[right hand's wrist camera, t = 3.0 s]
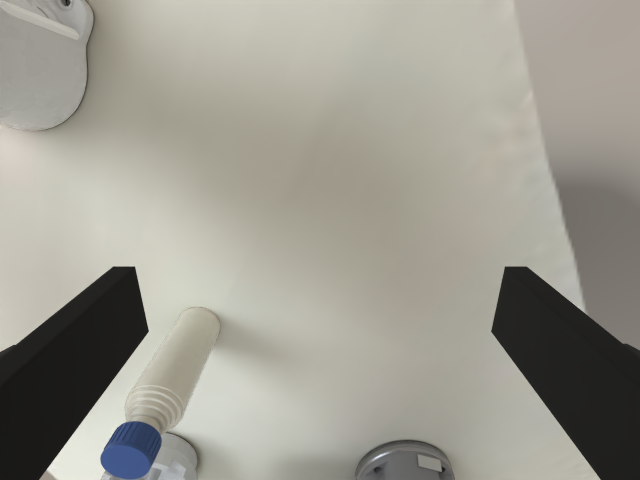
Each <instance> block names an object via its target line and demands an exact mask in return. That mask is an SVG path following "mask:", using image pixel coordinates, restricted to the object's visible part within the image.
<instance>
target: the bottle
mask: <svg viewBox="0 0 640 480" xmlns="http://www.w3.org/2000/svg"><path fill="white" fill-rule="evenodd" d="M219 332H220V322H219V320H218V318H217V317H216V315H215V314H214V313H212V312H211V311H209V310H207V309H204V308H200V307H193V308H189V309H187V310H185V311H183V312H182V313H181V315H180V316H179V318H178V319H177V321H176V322H175V324H174V325H173V327H172V328H171V330H170V331H169V333H168V334H167V336H166V338H165V339H164V341H163V342H162V344H161V345H160V347H159V348H158V350H157V351H156V353H155V354H154V356H153V358H152V359H151V361H150V362H149V364H148V365H147V367H146V368H145V370H144V371H143V373H142V374H141V376H140V377H139V379H138V381H137V382H136V384H135V385H134V387H133V388H132V390H131V391H130V393H129V394H128V396H127V399H126V403H125V415H126V422H130V421H140V422H144V423H147V424H149V425H151V426H153V427H154V428H155V429H156V430H157V431H158V432H159V433H160V435H162V434H164V433H165V432H167V431H169V430H170V429H172V428H173V427H175V426H176V425H177V424H178V422H180V420H181V419H182V418H183V416H184V413H185V411H186V409H187V406H188V404H189V402H190V399H191V397H192V395H193V393H194V390H195V388H196V386H197V383H198V381H199V379H200V376H201V374H202V372H203V369H204V367H205V365H206V363H207V360H208V358H209V356H210V353H211V351H212V349H213V346H214V344H215V342H216V339H217V337H218V335H219Z"/></svg>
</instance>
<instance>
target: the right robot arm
mask: <svg viewBox="0 0 640 480" xmlns="http://www.w3.org/2000/svg"><path fill="white" fill-rule="evenodd" d="M148 332H149V330H148V326H147V321H146V316H145V312H144V307H143V302H142V298H141V293H140V288H139V284H138V279H137V274H136V269H135V267H112V268H111V269H110V270H108V271H107V272H106V273H105V274H104V275H102V276H101V277H100V278H99V279H97V280H96V281H95V282H94V283H92V284H91V285H90V286H89V287H87V288H86V289H85V290H84V291H82V292H81V293H80V294H79V295H77V296H76V297H75V298H74V299H72V300H71V301H70V302H69V303H67V304H66V305H65V306H64V307H62V308H61V309H60V310H59V311H58V312H56V313H55V314H54V315H53V316H51V317H50V318H49V319H48V320H46V321H45V322H44V323H43V324H41V325H40V326H39V327H38V328H36V329H35V330H34V331H33V332H31V333H30V334H29V335H28V336H26V337H25V338H24V339H23V340H21V341H20V342H19V343H18V344H17V345H13V346H11V347H9V348H7V349H5V350H3V351H1V352H0V480H39V479H40V478H41V476H42V475H43V474H44V472H45V471H46V470H47V468H48V467H49V466H50V464H51V463H52V461H53V460H54V459H55V457H56V456H57V455H58V453H59V452H60V451H61V449H62V448H63V447H64V445H65V444H66V443H67V441H68V440H69V439H70V437H71V436H72V434H73V433H74V432H75V430H76V429H77V428H78V426H79V425H80V424H81V422H82V421H83V420H84V418H85V417H86V416H87V414H88V413H89V412H90V410H91V409H92V407H93V406H94V405H95V403H96V402H97V401H98V399H99V398H100V397H101V395H102V394H103V393H104V391H105V390H106V389H107V387H108V386H109V385H110V383H111V382H112V380H113V379H114V378H115V376H116V375H117V374H118V372H119V371H120V370H121V368H122V367H123V366H124V364H125V363H126V362H127V360H128V359H129V358H130V356H131V355H132V353H133V352H134V351H135V349H136V348H137V347H138V345H139V344H140V343H141V341H142V340H143V339H144V337H145V336H146V335H147V333H148ZM491 332H492V333H493V335H494V336H495V337H496V339H497V340H498V341H499V343H500V344H501V345H502V347H503V348H504V349H505V351H506V352H507V353H508V355H509V356H510V358H511V359H512V360H513V362H514V363H515V364H516V366H517V367H518V368H519V370H520V371H521V372H522V374H523V375H524V376H525V378H526V379H527V380H528V382H529V383H530V385H531V386H532V387H533V389H534V390H535V391H536V393H537V394H538V395H539V397H540V398H541V399H542V401H543V402H544V403H545V405H546V406H547V407H548V409H549V410H550V412H551V413H552V414H553V416H554V417H555V418H556V420H557V421H558V422H559V424H560V425H561V426H562V428H563V429H564V430H565V432H566V433H567V434H568V436H569V437H570V439H571V440H572V441H573V443H574V444H575V445H576V447H577V448H578V449H579V451H580V452H581V453H582V455H583V456H584V457H585V459H586V460H587V461H588V463H589V464H590V466H591V467H592V468H593V470H594V471H595V472H596V474H597V475H598V476H599V478H600V479H601V480H640V350H638V349H636V348H634V347H632V346H630V345H628V344H622V343H621V342H620V341H618V340H617V339H616V338H615V337H614V336H612V335H611V334H610V333H609V332H607V331H606V330H605V329H604V328H602V327H601V326H600V325H599V324H597V323H596V322H595V321H594V320H592V319H591V318H590V317H589V316H587V315H586V314H585V313H584V312H582V311H581V310H580V309H579V308H577V307H576V306H575V305H574V304H573V303H571V302H570V301H569V300H568V299H566V298H565V297H564V296H563V295H561V294H560V293H559V292H558V291H556V290H555V289H554V288H553V287H551V286H550V285H549V284H548V283H546V282H545V281H544V280H543V279H541V278H540V277H539V276H538V275H536V274H535V273H534V272H533V271H532V270H530V269H529V268H528V267H505V269H504V274H503V279H502V284H501V288H500V293H499V298H498V302H497V307H496V312H495V316H494V321H493V326H492V330H491ZM356 480H455V478H454V474H453V471H452V468H451V465H450V463H449V460H448V459H447V457H446V456H445V455H444V454H443V453H442V452H441V451H440V450H438V449H437V448H435V447H433V446H431V445H429V444H426V443H422V442H416V441H399V442H393V443H389V444H385V445H383V446H380V447H378V448H376V449H374V450H373V451H371V452H370V453H368V454H367V455H366V456H365V457H364V458H363V459H362V460H361V462H360V463H359V465H358V467H357V470H356Z"/></svg>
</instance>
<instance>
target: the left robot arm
mask: <svg viewBox="0 0 640 480" xmlns="http://www.w3.org/2000/svg"><path fill="white" fill-rule="evenodd" d="M93 21H94V16H93V12H92V9H91V8H90V6H89V5H88V3H87V2H86V1H85V0H70V5H69V6H67V5H66V0H0V124H1V125H5V126H9V127H12V128H16V129H20V130H28V131H38V130H45V129H49V128H52V127H55V126H57V125H59V124H61V123H62V122H64V121H65V120H67V119H68V118H69V117H70V116H71V115H72V114H73V113H74V112H75V110H76V109H77V107H78V106H79V104H80V102H81V100H82V98H83V95H84V92H85V87H86V81H87V61H86V44H87V42H88V39H89V36H90V33H91V30H92V27H93Z"/></svg>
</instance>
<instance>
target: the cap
mask: <svg viewBox="0 0 640 480" xmlns="http://www.w3.org/2000/svg"><path fill="white" fill-rule="evenodd" d="M161 443H162V438H161V435H160V433H159V432H158V431H157V430H156V429H155V428H154V427H153V426H151V425H149V424H147V423H144V422H140V421H130V422H126V423H124V424H122V425H120V426H119V427H118V428H117V429H116V431H115V432H114V433H113V435H112V437H111V438H110V440H109V442H108V443H107V445H106V446H105V448H104V451H103V453H102V454H101V464H102V466H103V467H104V469H105V470H106V471H107V472H109V473H110V474H112V475H113V476H116V477H118V478H122V479H138V478H141V477H143V476H145V475H146V474H147V473H148V472H149V470H150V468H151V467H152V465H153V463H154V461H155V459H156V456H157V454H158V452H159V450H160V448H161Z"/></svg>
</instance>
